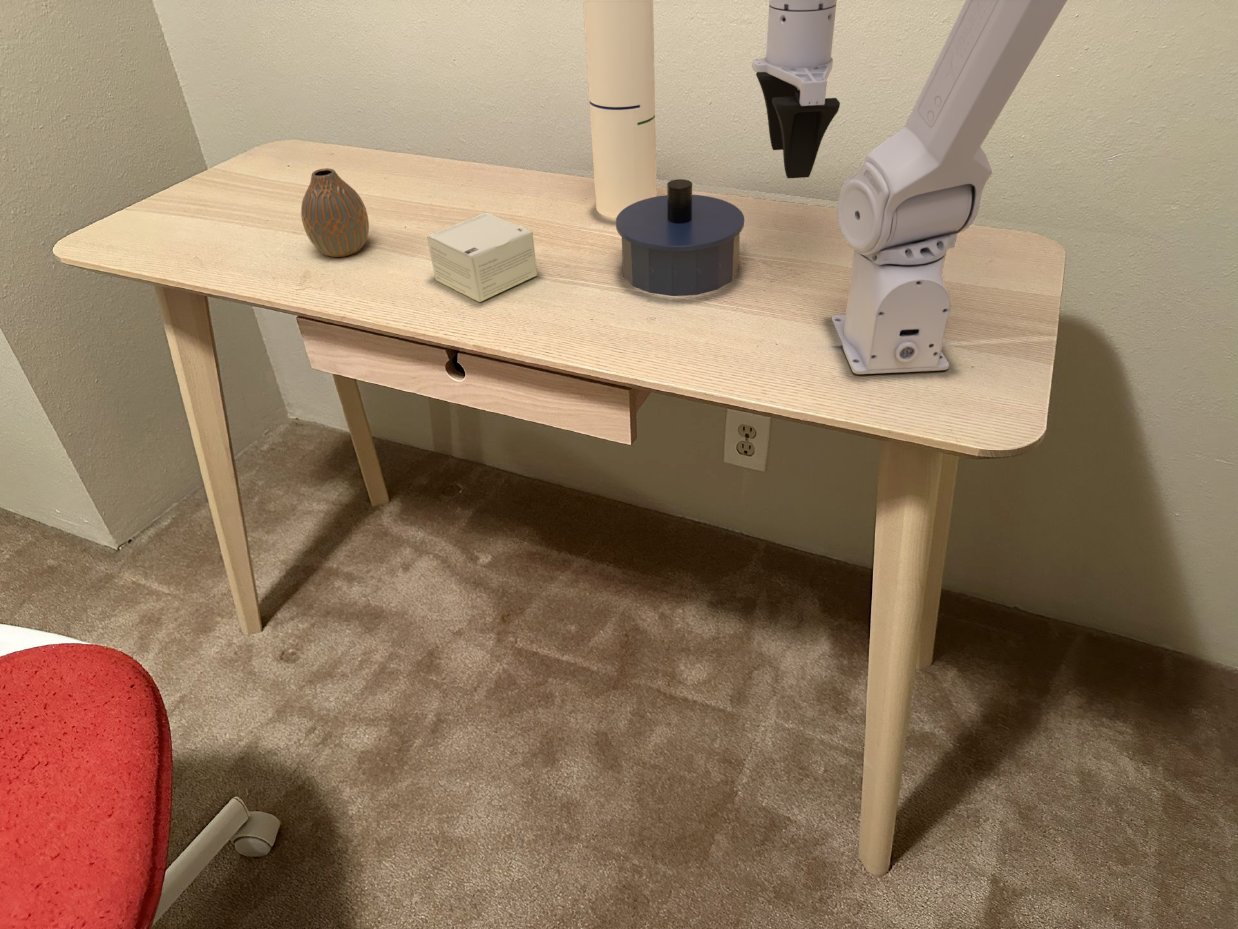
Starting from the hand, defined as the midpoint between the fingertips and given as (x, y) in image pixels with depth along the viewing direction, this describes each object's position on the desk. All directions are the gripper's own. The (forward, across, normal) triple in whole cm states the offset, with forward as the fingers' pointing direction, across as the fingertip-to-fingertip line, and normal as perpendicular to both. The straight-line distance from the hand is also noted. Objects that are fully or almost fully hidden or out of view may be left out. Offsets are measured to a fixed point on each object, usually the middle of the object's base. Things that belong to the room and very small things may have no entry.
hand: (789, 162), depth 82 cm
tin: (+10, +1, -11) cm, 15 cm away
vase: (+10, -9, -48) cm, 50 cm away
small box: (+10, 0, -31) cm, 32 cm away
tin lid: (+5, +1, -11) cm, 12 cm away
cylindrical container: (+10, -16, -16) cm, 24 cm away
